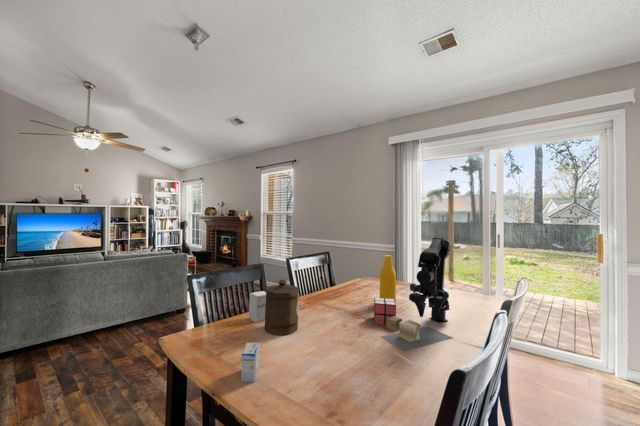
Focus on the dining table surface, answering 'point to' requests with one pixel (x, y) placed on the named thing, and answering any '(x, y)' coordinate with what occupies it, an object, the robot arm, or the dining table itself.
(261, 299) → the supplement box
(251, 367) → the medicine box
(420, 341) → the rubber mat
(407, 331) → the beech cube
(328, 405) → the dining table surface
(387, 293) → the beer bottle
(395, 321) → the walnut cube
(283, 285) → the wooden container
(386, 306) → the puzzle cube
